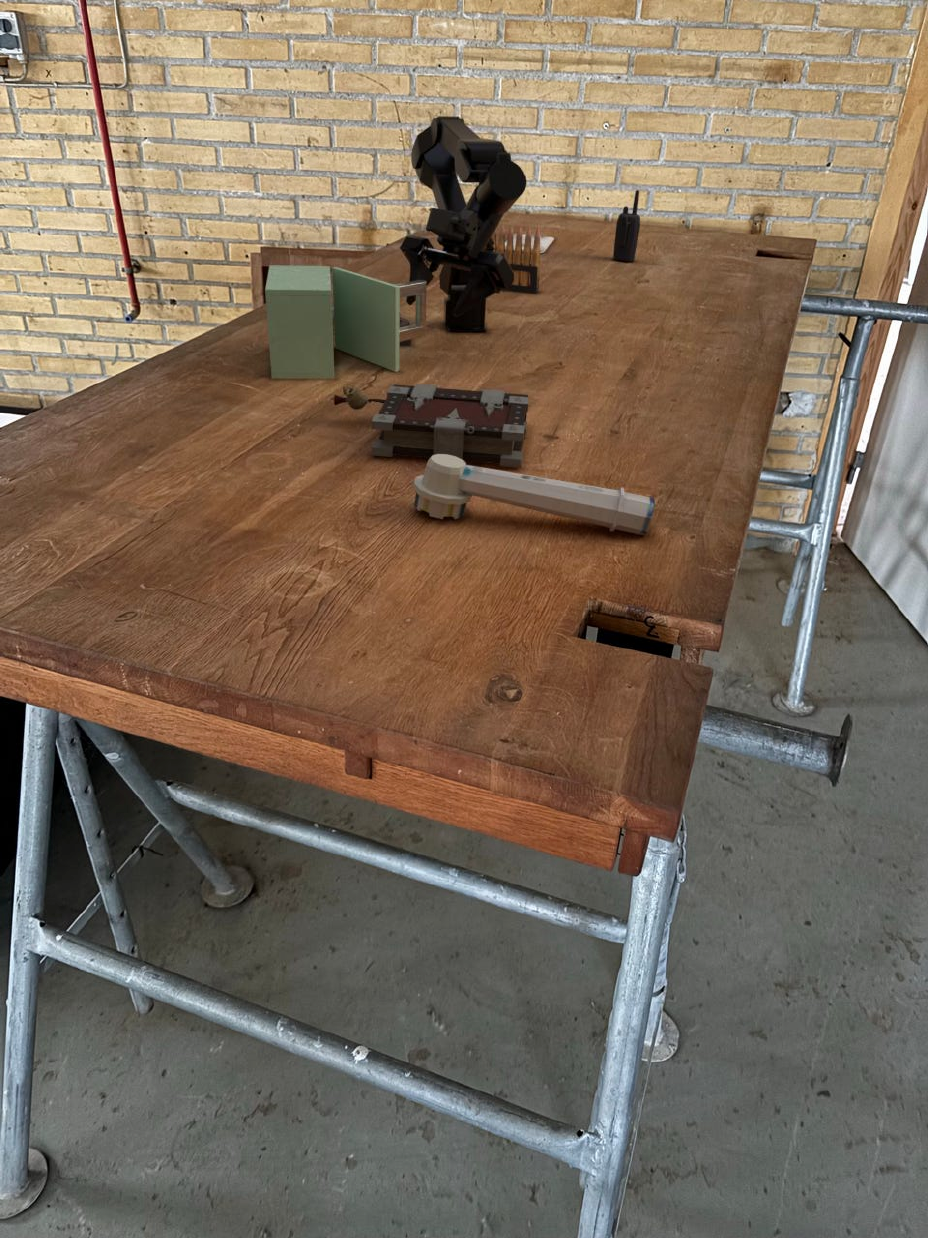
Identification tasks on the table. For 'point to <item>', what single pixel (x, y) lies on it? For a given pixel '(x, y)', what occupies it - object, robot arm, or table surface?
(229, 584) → the table surface
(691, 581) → the table surface
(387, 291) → the cabinet door
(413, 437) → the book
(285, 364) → the cabinet
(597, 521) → the toothbrush head
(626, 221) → the two-way radio
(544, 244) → the tile
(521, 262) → the ammunition clip
